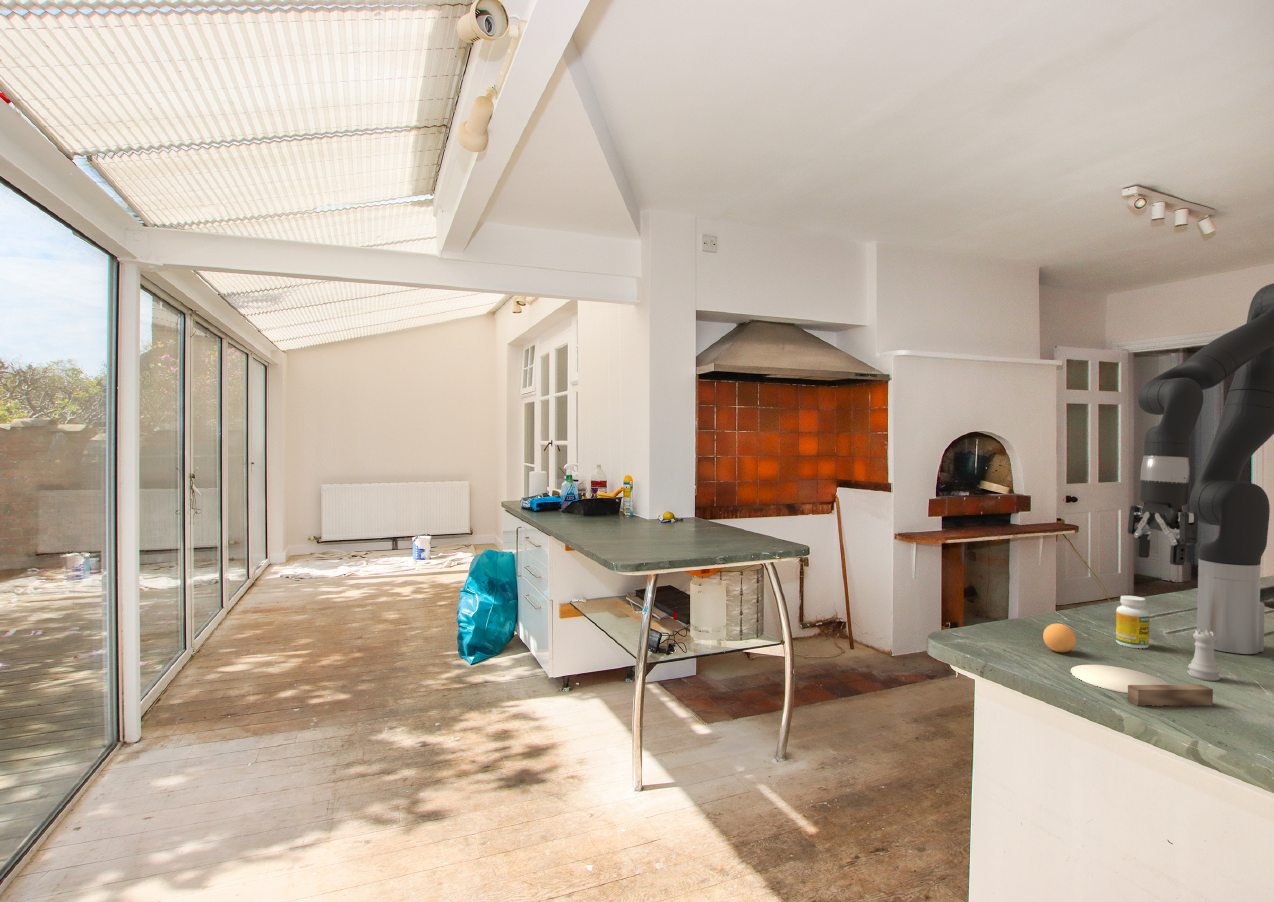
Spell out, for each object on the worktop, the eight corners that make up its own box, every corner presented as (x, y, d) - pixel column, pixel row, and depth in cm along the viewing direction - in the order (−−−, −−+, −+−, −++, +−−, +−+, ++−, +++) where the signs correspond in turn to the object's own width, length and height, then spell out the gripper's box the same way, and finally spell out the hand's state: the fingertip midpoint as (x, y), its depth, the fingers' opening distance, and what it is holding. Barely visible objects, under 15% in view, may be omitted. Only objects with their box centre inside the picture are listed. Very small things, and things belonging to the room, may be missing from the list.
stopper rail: (1200, 700, 103) (1201, 684, 103) (1212, 705, 101) (1212, 689, 101) (1127, 700, 103) (1127, 684, 103) (1137, 705, 101) (1138, 689, 101)
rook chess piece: (1213, 674, 115) (1214, 629, 115) (1226, 683, 111) (1227, 636, 111) (1182, 671, 117) (1183, 626, 117) (1194, 679, 113) (1195, 633, 112)
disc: (1126, 665, 119) (1126, 664, 119) (1195, 695, 106) (1195, 693, 106) (1052, 665, 119) (1052, 664, 119) (1111, 695, 105) (1111, 694, 105)
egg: (1063, 647, 130) (1063, 620, 130) (1082, 656, 125) (1083, 627, 125) (1036, 647, 130) (1037, 620, 130) (1055, 656, 124) (1055, 627, 124)
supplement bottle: (1122, 639, 136) (1123, 593, 136) (1153, 646, 131) (1154, 598, 131) (1110, 643, 133) (1111, 596, 133) (1142, 650, 128) (1143, 602, 128)
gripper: (1214, 482, 123) (1209, 569, 123) (1154, 478, 137) (1149, 555, 137) (1175, 480, 123) (1169, 566, 123) (1118, 476, 137) (1113, 553, 137)
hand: (1158, 560), depth 130 cm, fingers open, 8 cm apart
